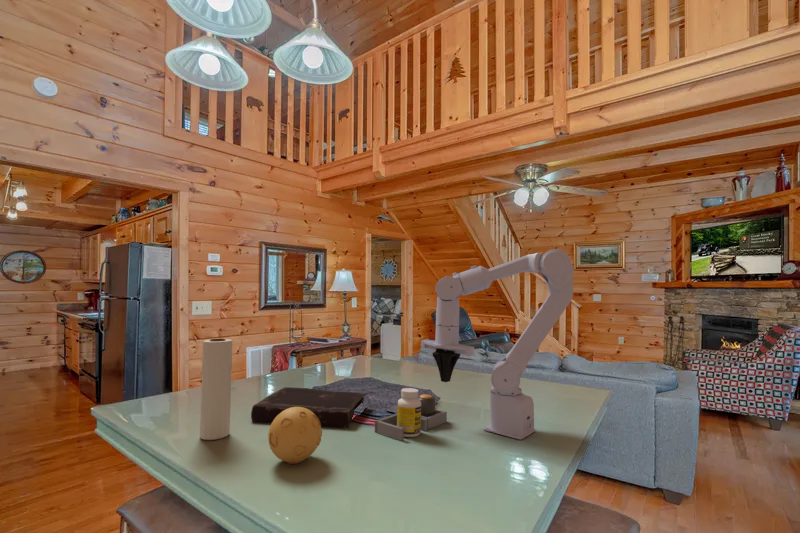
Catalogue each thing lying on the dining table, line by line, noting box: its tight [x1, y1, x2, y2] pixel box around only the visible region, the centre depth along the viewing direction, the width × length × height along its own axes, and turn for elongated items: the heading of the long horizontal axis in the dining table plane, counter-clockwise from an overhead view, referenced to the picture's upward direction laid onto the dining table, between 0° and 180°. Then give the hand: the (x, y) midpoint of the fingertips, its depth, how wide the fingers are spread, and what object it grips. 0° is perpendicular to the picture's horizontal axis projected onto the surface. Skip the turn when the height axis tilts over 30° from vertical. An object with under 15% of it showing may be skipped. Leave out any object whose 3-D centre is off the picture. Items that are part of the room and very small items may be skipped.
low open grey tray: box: [374, 393, 448, 442], centre depth 99 cm, size 17×17×6 cm
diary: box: [250, 386, 368, 429], centre depth 105 cm, size 19×25×5 cm
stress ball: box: [267, 407, 323, 465], centre depth 76 cm, size 10×10×10 cm
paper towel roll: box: [199, 338, 233, 441], centre depth 90 cm, size 7×6×21 cm
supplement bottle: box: [397, 387, 421, 438], centre depth 91 cm, size 5×5×10 cm
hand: (445, 381), depth 98 cm, fingers closed
